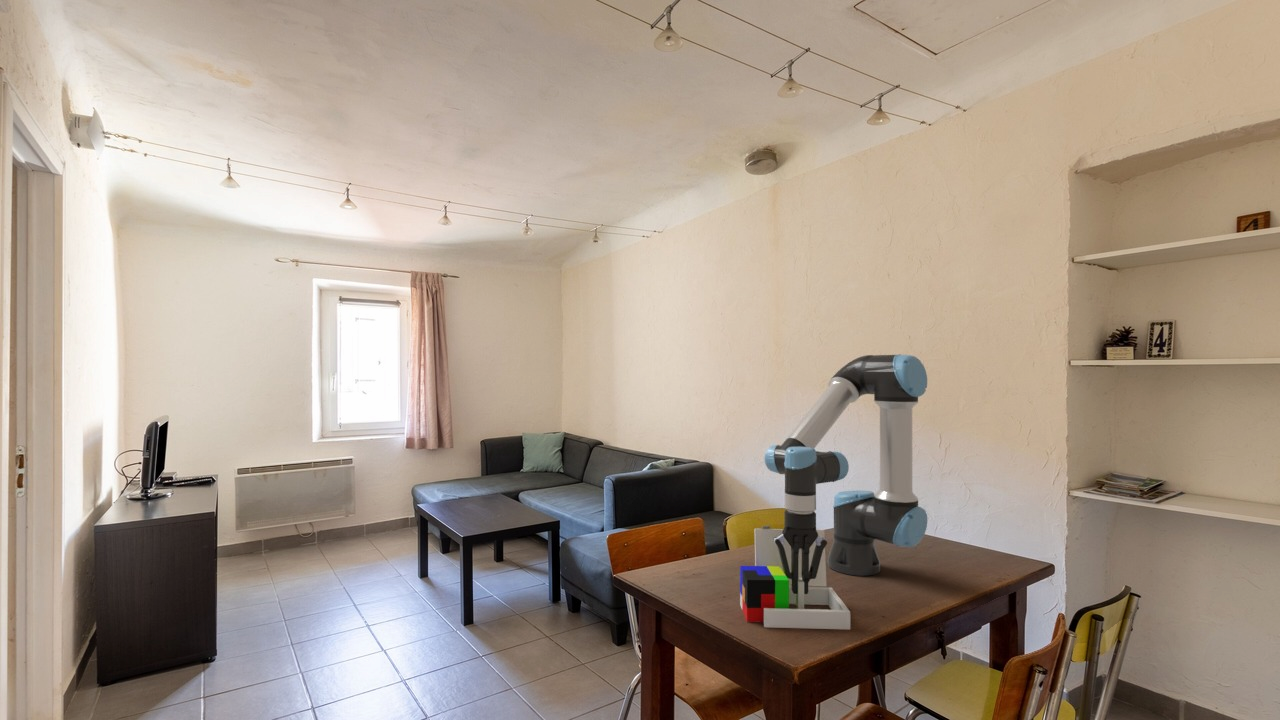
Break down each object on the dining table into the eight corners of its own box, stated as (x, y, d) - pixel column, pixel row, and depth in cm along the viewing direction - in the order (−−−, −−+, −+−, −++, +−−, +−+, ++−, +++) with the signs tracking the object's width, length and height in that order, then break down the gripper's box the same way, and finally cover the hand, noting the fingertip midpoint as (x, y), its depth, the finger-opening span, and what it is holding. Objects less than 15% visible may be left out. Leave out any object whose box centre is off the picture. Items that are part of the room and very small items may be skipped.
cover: (826, 586, 153) (825, 585, 154) (824, 527, 156) (823, 527, 157) (756, 584, 154) (755, 584, 155) (754, 526, 157) (754, 525, 158)
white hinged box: (831, 603, 154) (831, 587, 154) (850, 629, 138) (850, 612, 138) (754, 601, 154) (754, 585, 155) (764, 627, 139) (764, 610, 139)
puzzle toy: (740, 605, 152) (740, 565, 152) (779, 605, 152) (779, 566, 152) (747, 621, 142) (747, 579, 142) (788, 622, 142) (789, 580, 142)
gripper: (822, 507, 150) (822, 601, 150) (770, 506, 151) (770, 600, 150) (831, 514, 143) (830, 613, 142) (776, 513, 143) (776, 612, 143)
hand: (799, 606), depth 146 cm, fingers closed
